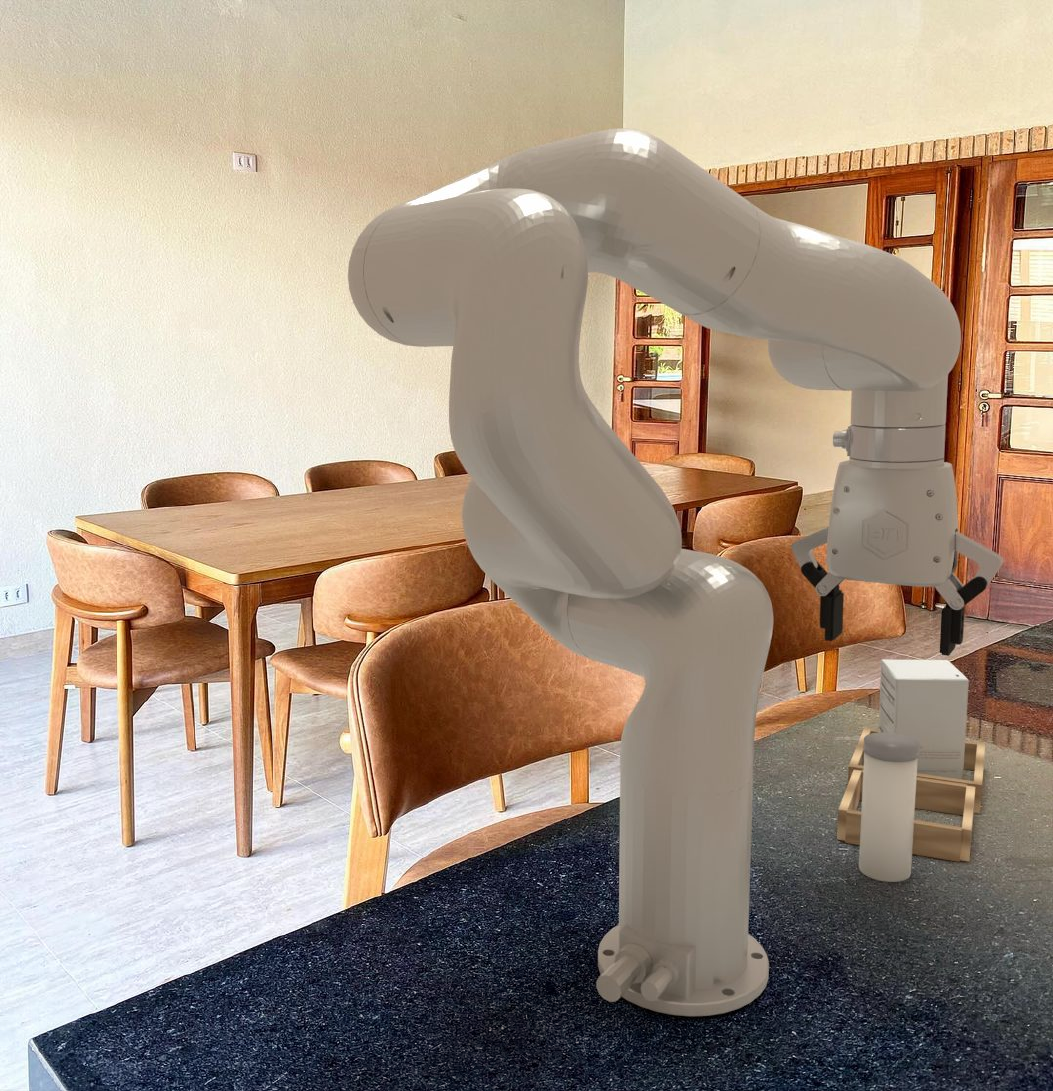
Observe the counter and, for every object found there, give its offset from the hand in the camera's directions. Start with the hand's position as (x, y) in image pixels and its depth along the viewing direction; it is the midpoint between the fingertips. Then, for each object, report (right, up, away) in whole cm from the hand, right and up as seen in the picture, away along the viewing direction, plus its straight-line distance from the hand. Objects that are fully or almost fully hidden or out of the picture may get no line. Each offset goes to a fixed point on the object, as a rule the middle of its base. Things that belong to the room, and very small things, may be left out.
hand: (889, 644), depth 94 cm
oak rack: (+8, -18, +17) cm, 26 cm away
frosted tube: (0, -20, +3) cm, 20 cm away
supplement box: (+11, -17, +22) cm, 30 cm away
